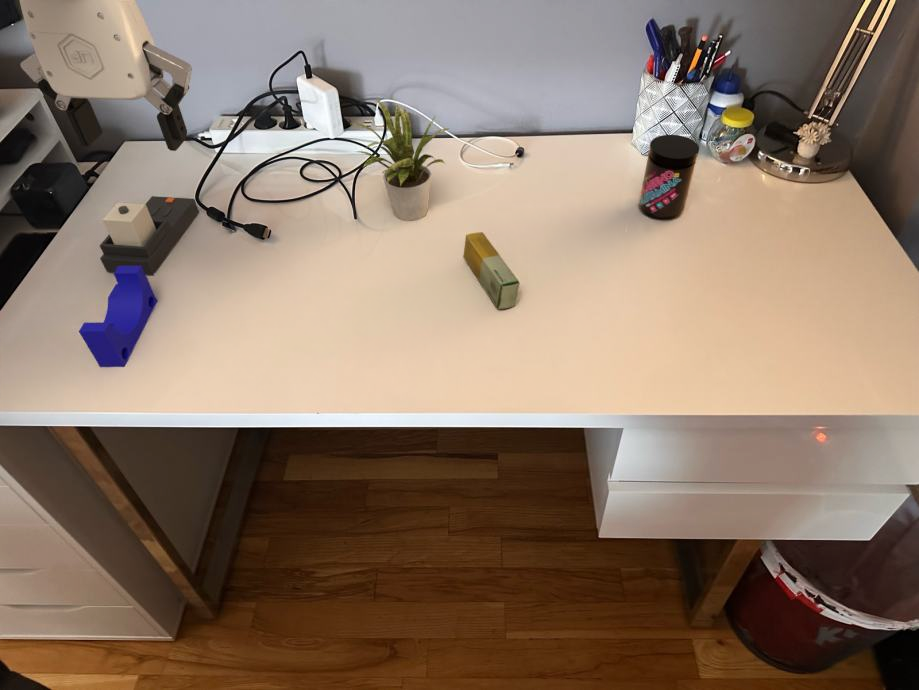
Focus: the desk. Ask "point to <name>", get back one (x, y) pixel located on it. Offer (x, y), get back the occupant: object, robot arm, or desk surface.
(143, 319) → the blue curved cradle bracket
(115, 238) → the block
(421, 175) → the house plant
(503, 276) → the medication box
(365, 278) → the desk surface
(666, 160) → the supplement container
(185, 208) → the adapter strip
